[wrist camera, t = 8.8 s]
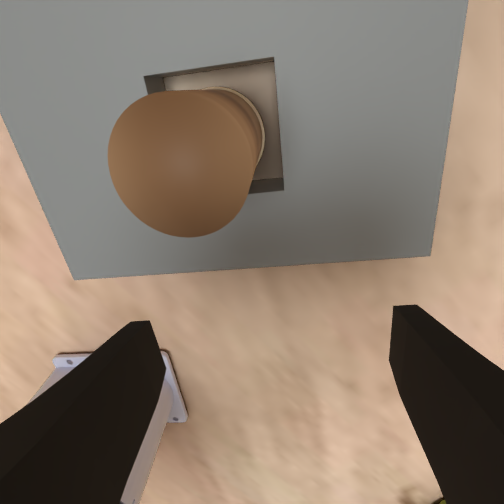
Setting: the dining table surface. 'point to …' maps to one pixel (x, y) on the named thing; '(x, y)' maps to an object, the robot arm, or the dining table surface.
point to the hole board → (290, 122)
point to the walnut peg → (186, 158)
